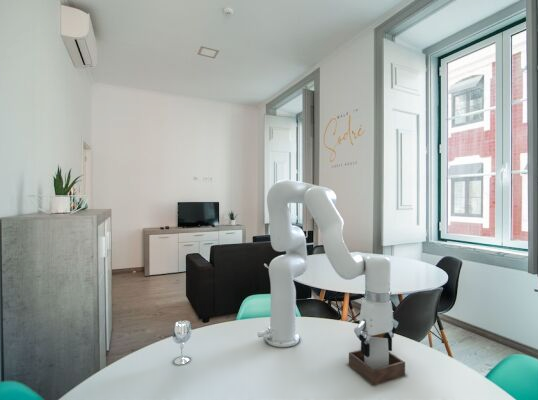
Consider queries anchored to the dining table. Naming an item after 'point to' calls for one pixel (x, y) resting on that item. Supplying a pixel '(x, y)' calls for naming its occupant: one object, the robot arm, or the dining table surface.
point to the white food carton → (377, 353)
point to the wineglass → (182, 338)
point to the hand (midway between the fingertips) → (376, 351)
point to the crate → (379, 374)
